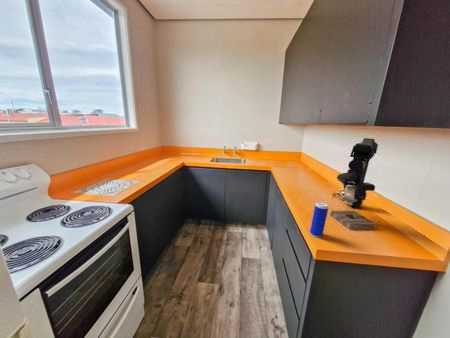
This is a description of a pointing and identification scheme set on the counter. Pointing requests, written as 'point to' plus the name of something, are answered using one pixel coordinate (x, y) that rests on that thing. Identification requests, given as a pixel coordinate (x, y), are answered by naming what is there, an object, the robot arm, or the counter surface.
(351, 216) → the socket board
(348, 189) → the beech leg
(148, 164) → the counter surface
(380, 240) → the counter surface
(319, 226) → the beverage can
